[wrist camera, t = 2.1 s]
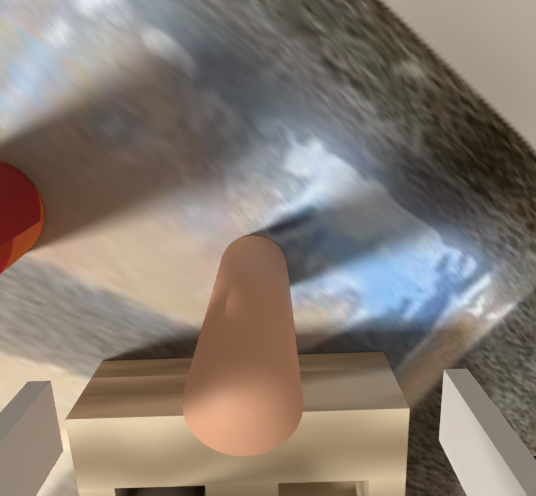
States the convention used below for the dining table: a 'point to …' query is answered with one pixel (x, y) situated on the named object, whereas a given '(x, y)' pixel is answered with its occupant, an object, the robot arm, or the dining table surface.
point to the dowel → (246, 355)
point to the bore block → (241, 467)
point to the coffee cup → (18, 215)
